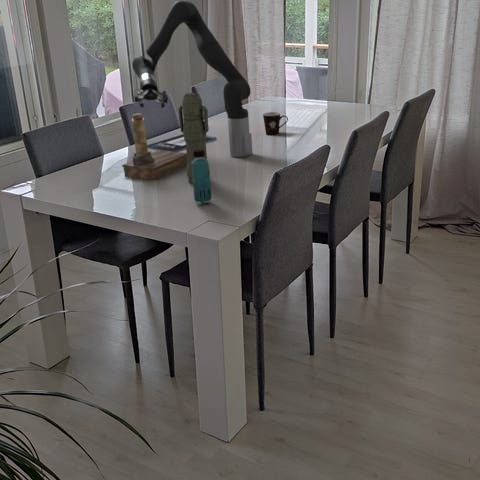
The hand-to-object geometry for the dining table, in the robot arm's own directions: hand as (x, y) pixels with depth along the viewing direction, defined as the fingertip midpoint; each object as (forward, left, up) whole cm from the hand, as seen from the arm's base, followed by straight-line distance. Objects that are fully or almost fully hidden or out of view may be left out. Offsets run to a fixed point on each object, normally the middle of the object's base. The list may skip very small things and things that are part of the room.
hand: (152, 106), depth 290 cm
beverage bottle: (-48, +36, -26) cm, 66 cm away
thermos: (-31, +14, -26) cm, 43 cm away
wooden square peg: (-1, +12, -21) cm, 24 cm away
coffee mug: (-22, -66, -26) cm, 74 cm away
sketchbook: (+14, -35, -27) cm, 46 cm away
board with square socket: (-4, +7, -26) cm, 27 cm away
